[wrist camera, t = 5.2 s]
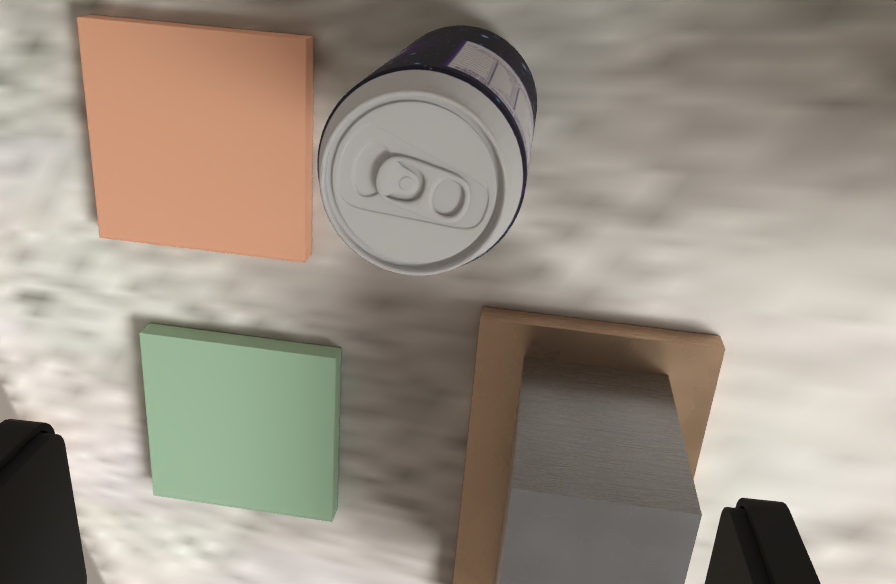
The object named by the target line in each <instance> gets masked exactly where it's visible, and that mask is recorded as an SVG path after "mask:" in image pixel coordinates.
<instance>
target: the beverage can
mask: <svg viewBox="0 0 896 584" xmlns="http://www.w3.org/2000/svg"><path fill="white" fill-rule="evenodd" d="M536 111H537V94H536V88H535V83H534V80H533V77H532V74H531V72H530V70H529V68H528V66H527V64H526V62H525V61H524V59H523V58H522V56H521V55H520V54H519V53H518V51H517V50H516V49H515V48H514V47H513V46H512V45H510V44H509V43H508V42H507V41H505V40H504V39H503V38H501V37H500V36H498V35H496V34H494V33H492V32H490V31H487V30H484V29H481V28H477V27H472V26H449V27H444V28H441V29H437V30H435V31H432V32H430V33H428V34H426V35H424V36H422V37H421V38H419V39H418V40H416V41H415V42H414V43H412V44H411V45H410V46H408V47H407V48H406V49H404V50H403V51H402V52H400V53H399V54H398V55H396V56H395V57H394V58H392V59H391V60H390V61H388V62H387V63H385V64H384V65H383V66H381V67H380V68H379V69H377V70H376V71H375V72H373V73H372V74H371V75H369V76H368V77H367V78H365V79H364V80H363V81H361V82H360V83H359V84H357V85H356V86H355V87H353V88H352V89H351V90H350V91H349V92H348V93H347V94H346V95H345V96H344V97H343V98H342V99H341V100H340V101H339V103H338V104H337V105H336V107H335V108H334V110H333V111H332V113H331V114H330V116H329V118H328V120H327V122H326V124H325V127H324V129H323V132H322V136H321V139H320V144H319V150H318V178H319V183H320V193H321V197H322V201H323V205H324V208H325V211H326V213H327V216H328V218H329V220H330V222H331V224H332V225H333V227H334V229H335V230H336V232H337V234H338V235H339V236H340V237H341V238H342V240H343V241H344V242H345V243H346V244H347V245H348V246H349V247H350V248H351V249H352V250H353V251H354V252H355V253H357V254H358V255H359V256H361V257H362V258H364V259H365V260H367V261H368V262H370V263H372V264H374V265H376V266H378V267H380V268H382V269H385V270H388V271H391V272H395V273H399V274H405V275H422V276H424V275H432V274H439V273H442V272H446V271H449V270H452V269H455V268H457V267H459V266H462V265H465V264H467V263H469V262H471V261H474V260H475V259H477V258H479V257H481V256H482V255H484V254H485V253H487V252H488V251H489V250H490V249H492V248H493V247H494V246H495V245H496V244H497V243H498V242H499V241H500V240H501V239H502V238H503V237H504V236H505V234H506V233H507V232H508V230H509V229H510V227H511V226H512V224H513V222H514V221H515V219H516V217H517V215H518V212H519V210H520V207H521V204H522V201H523V198H524V193H525V187H526V181H527V174H528V167H529V160H530V153H531V146H532V139H533V133H534V126H535V119H536Z"/></svg>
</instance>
